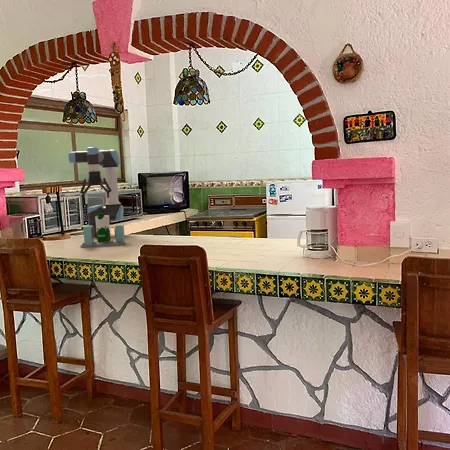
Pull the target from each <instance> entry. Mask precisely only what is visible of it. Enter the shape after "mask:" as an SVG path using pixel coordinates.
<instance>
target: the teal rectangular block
mask: <svg viewBox="0 0 450 450" xmlns="http://www.w3.org/2000/svg"><path fill="white" fill-rule="evenodd" d="M82 229H83V241H84V242H83V243H85V245H92V244H93V242H95V239H94V238H95V237H94V228H93V226H89V225H84V226H82Z"/></svg>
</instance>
